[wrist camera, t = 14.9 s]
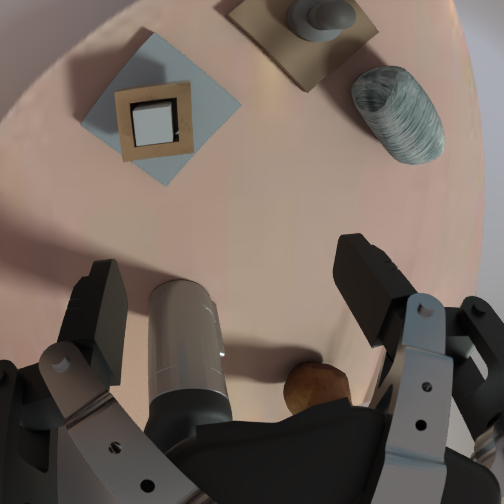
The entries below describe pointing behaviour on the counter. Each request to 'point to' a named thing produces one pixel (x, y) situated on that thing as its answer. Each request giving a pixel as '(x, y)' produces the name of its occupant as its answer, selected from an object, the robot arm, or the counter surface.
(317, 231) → the counter surface
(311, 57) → the stand
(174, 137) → the square wooden frame
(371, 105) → the teal-grey streaked oval part
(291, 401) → the butternut squash
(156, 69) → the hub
